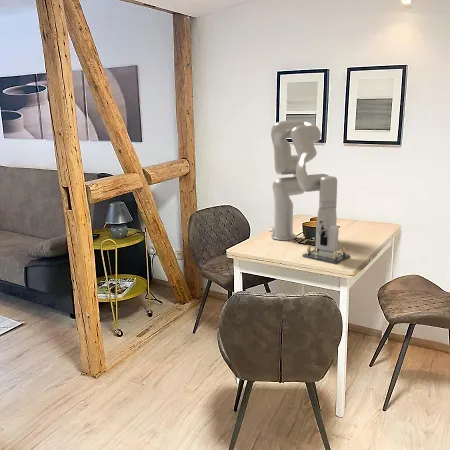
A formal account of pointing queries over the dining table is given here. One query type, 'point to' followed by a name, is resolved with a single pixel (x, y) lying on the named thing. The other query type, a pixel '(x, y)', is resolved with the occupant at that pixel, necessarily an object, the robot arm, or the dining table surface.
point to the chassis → (326, 255)
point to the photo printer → (329, 239)
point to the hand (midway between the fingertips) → (326, 243)
